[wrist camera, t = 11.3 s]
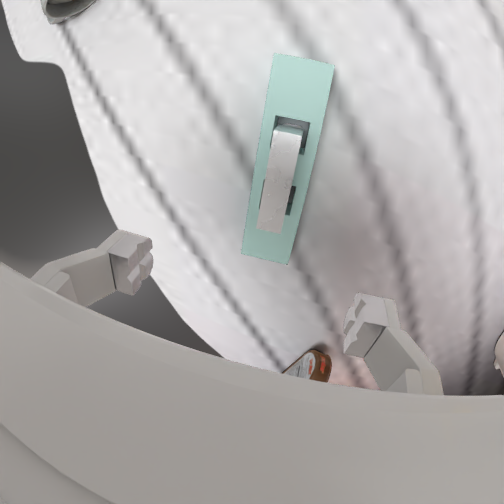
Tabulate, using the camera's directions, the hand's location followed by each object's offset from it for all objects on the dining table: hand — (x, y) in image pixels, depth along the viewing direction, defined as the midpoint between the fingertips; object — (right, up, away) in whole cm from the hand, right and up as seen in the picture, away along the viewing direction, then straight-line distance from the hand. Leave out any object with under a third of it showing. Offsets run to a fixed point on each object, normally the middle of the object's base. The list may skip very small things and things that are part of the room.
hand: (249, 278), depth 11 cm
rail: (+3, +10, +16) cm, 19 cm away
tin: (+8, -17, +33) cm, 38 cm away
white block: (+3, +10, +16) cm, 19 cm away
